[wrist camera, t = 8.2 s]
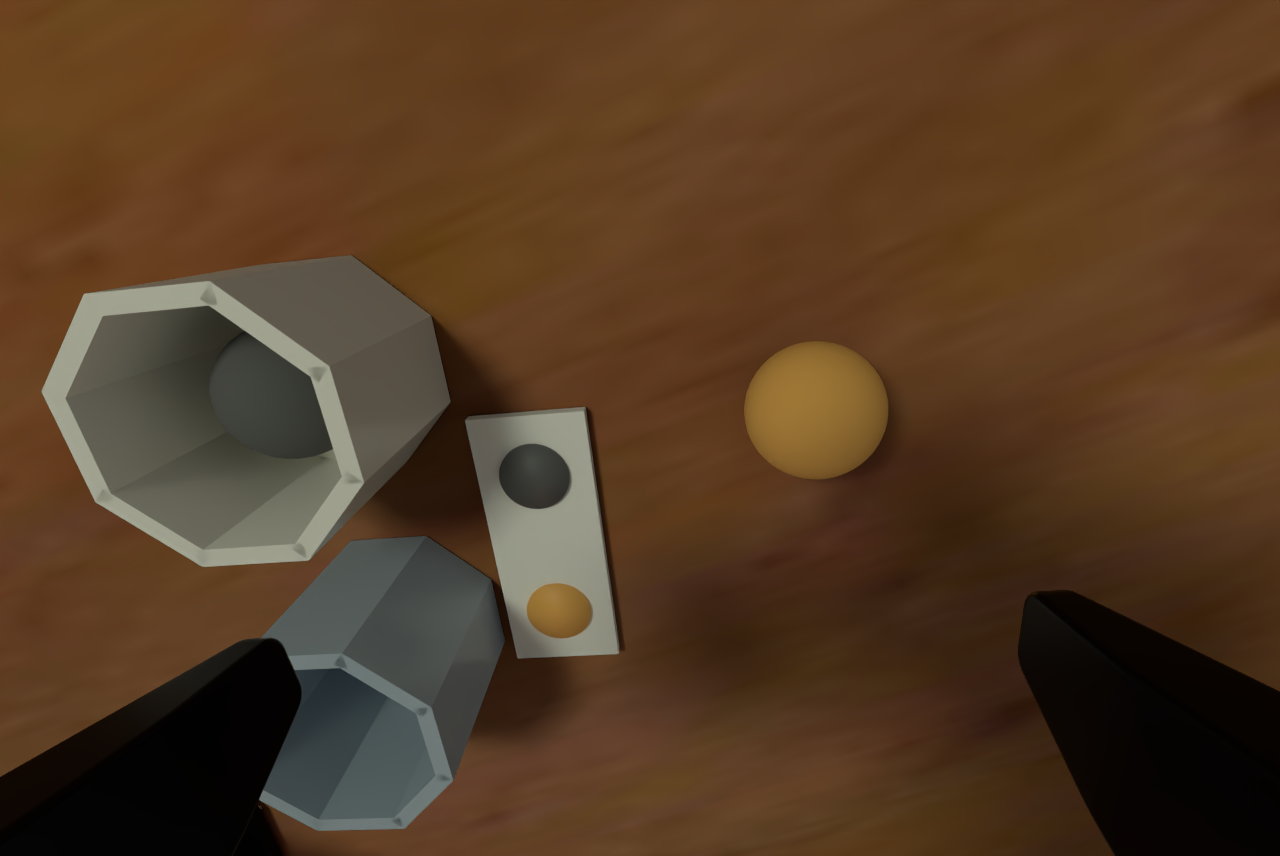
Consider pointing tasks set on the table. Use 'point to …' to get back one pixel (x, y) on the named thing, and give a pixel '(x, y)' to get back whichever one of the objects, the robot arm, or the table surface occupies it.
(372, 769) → the slate cup
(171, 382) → the cream cup
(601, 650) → the card
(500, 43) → the table surface
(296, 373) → the black ball
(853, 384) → the orange ball
